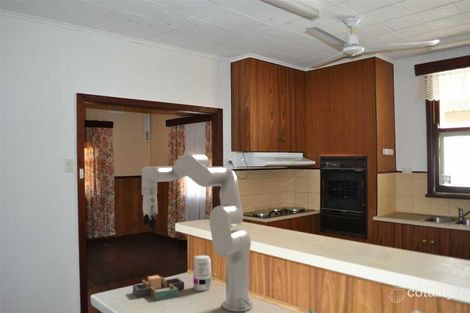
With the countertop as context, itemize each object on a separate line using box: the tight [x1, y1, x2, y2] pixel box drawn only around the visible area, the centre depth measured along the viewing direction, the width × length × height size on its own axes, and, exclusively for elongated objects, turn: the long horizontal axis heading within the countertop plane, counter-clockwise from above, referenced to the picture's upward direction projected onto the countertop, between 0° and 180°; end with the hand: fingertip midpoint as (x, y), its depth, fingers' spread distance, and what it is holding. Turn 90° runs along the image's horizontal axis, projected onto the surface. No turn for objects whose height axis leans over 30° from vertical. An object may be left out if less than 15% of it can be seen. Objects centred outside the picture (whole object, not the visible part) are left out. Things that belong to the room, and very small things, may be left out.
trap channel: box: [132, 276, 185, 302], centre depth 174 cm, size 21×22×4 cm
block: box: [147, 274, 162, 290], centre depth 180 cm, size 5×5×5 cm
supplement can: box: [192, 254, 212, 292], centre depth 178 cm, size 8×8×15 cm
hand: (149, 226), depth 187 cm, fingers open, 8 cm apart
